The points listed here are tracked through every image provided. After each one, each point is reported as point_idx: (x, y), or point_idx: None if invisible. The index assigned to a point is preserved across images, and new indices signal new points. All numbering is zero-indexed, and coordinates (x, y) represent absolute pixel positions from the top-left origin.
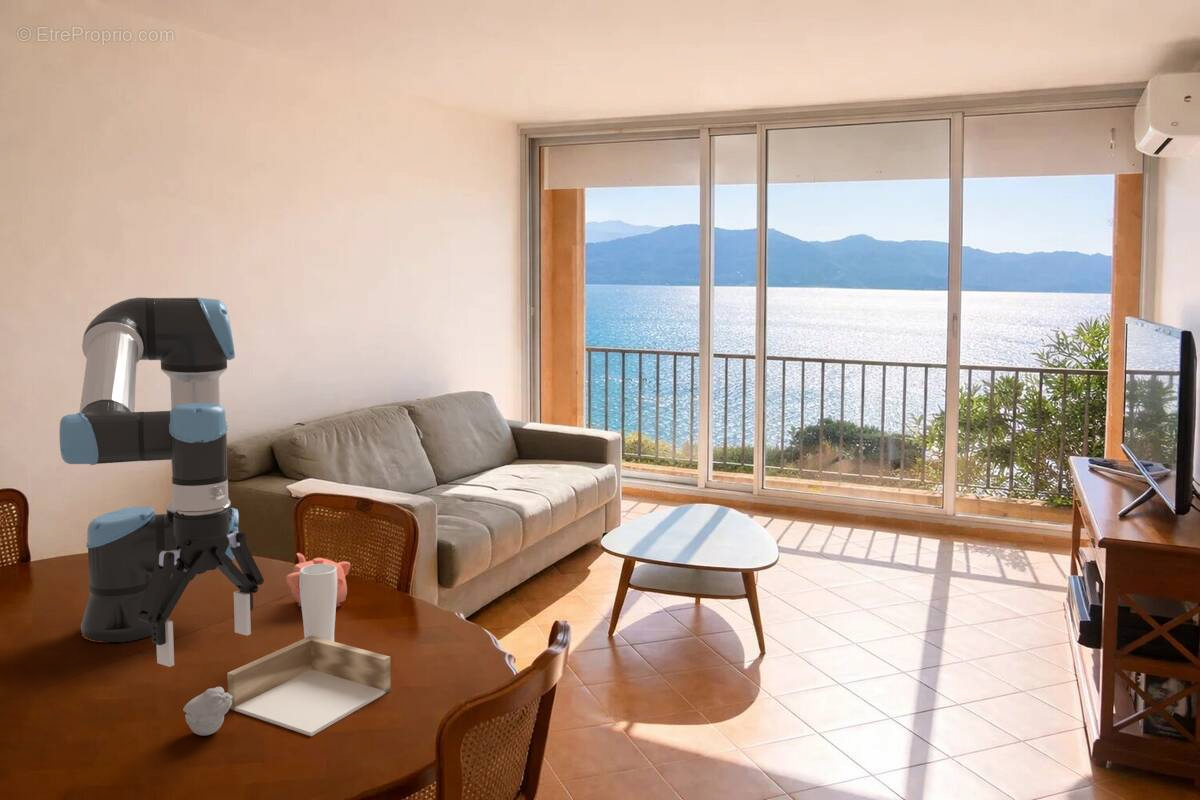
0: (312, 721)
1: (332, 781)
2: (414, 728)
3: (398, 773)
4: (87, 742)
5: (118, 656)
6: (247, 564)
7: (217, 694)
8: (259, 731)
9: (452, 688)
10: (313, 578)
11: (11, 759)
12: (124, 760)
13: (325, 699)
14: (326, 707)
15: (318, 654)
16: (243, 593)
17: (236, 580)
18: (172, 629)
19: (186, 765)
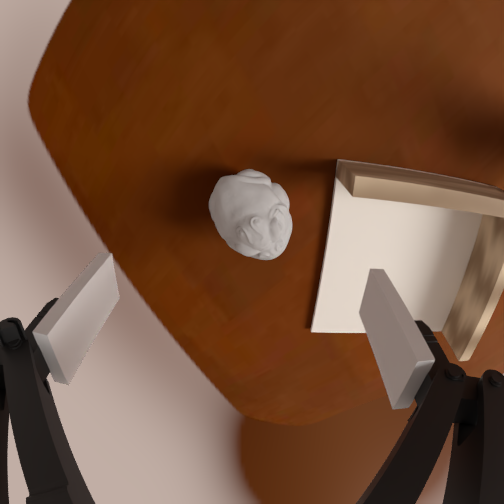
0: (339, 314)
1: (237, 391)
2: (365, 393)
3: (279, 420)
4: (133, 51)
5: None
6: (446, 500)
7: (248, 253)
8: (294, 262)
9: None
10: None
11: (60, 22)
12: (127, 153)
13: (405, 287)
14: None
15: (498, 227)
16: (409, 393)
17: (389, 455)
18: (78, 365)
19: (167, 243)
